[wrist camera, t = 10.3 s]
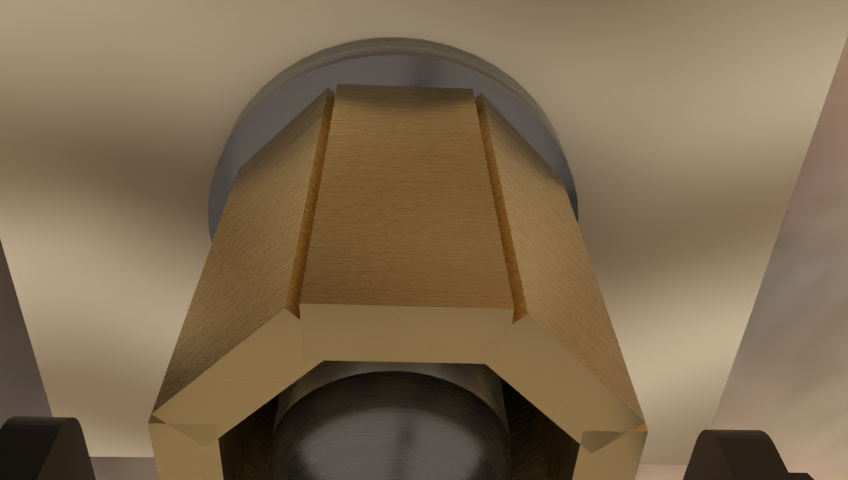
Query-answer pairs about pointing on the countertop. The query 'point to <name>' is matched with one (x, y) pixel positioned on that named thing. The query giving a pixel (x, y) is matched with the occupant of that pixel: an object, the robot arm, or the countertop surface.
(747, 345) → the countertop surface
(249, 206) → the collar
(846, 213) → the countertop surface
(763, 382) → the countertop surface
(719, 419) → the countertop surface
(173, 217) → the board
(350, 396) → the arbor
